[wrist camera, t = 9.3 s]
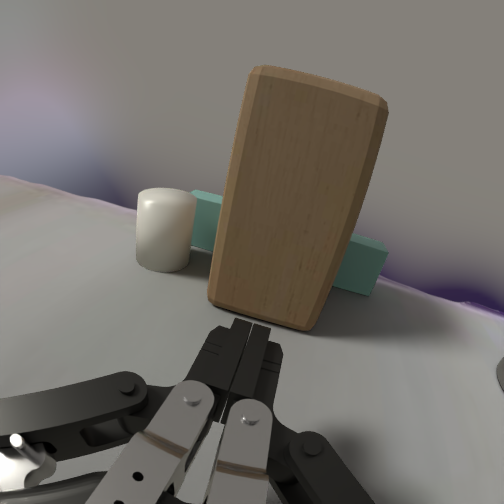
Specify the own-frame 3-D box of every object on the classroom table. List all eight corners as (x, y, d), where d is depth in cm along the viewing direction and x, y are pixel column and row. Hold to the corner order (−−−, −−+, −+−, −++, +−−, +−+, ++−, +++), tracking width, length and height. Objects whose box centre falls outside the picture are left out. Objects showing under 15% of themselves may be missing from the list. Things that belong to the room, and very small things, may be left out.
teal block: (365, 283, 34) (383, 242, 31) (368, 296, 31) (388, 252, 29) (189, 233, 36) (195, 189, 34) (179, 241, 34) (185, 195, 31)
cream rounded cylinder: (197, 253, 32) (205, 196, 29) (174, 278, 27) (181, 211, 24) (152, 240, 33) (157, 184, 29) (125, 261, 27) (126, 197, 24)
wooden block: (313, 281, 32) (366, 109, 23) (312, 337, 23) (395, 98, 14) (231, 257, 33) (269, 83, 24) (202, 306, 24) (248, 59, 15)
